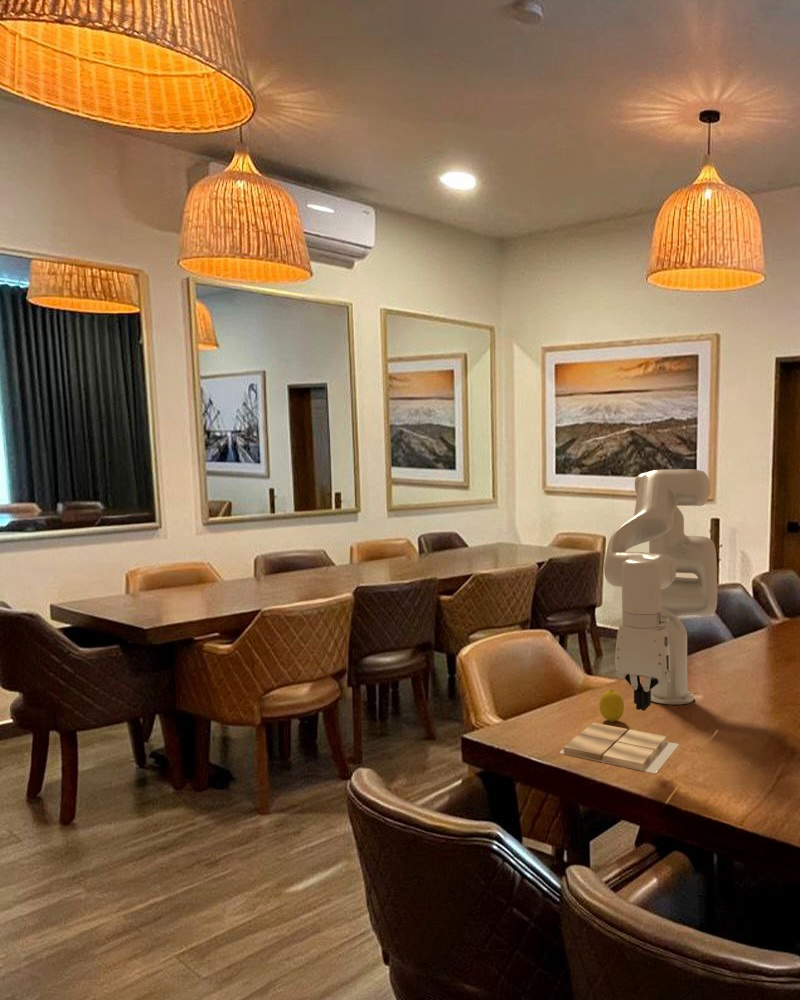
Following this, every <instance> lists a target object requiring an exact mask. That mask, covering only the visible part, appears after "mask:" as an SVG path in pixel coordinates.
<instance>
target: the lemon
mask: <svg viewBox="0 0 800 1000" xmlns="http://www.w3.org/2000/svg"><path fill="white" fill-rule="evenodd" d="M624 704H625V703H624V700H623V697H622V696H621V695H620V693H618V692H617V691H615V690H614V689H612V688H611V689H609V690H607V691H604V692H603V694H601V696H600V700H599V704H598V705H599V711H600V714H601V716H602V717H603V718H604V719H605V720H607V721H609V723H614V722H616V721H618V720H620V719H621V718H622V717H623V714H624V710H625V705H624Z"/></svg>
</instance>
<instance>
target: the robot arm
mask: <svg viewBox="0 0 800 1000" xmlns="http://www.w3.org/2000/svg"><path fill="white" fill-rule="evenodd" d="M709 479H710V478H709V476H708V475H707V473H706V472H705V471H703V470H699V469H691V468H690V469H689V468H686V469H685V468H681V469H679V468H678V469H674V468H673V469H655V470H654V469H653V470H649V471H646V472H642V473H640V474H638V475H637V476H636V477H635V480H634V490H635V493H636V501H635V507H634V513H633V516H632V517H631V518H629V519H627V520H626V521H625V522H624V523H622V524H621V525H620V526H619V527H618V528H616V530H615V531H614V532H613V533H612V535H611V536H610V537H609V540H608V543H607V549H606V552H605V559H604V566H603V567H604V568H603V573H604V577H605V580H606V582H607V583H608V584H609V585H611V586H612V587H617V588H621V610H622V611H621V617H622V618H621V623H620V624H619V625H618V630H617V636H616V644H615V656H614V657H615V659H614V661H615V662H614V663H615V673H614V674H615V676H616V677H618V678H621V679H623V680H625V681H626V682H627V683H628V684H629V685H630V686H631V689H632V690H633V703H634V704H635V705H636V708H635V709H636V710H638V711H639V710H641V711H643V712H645V711H646V710H647V709H648V708H649V707H650V706H651V704H652V702H653V703H656V704H657V703H658V704H662V705H685V704H690V703H692V702H693V701H694V698H695V697H694V696H695V695H694V694H693V693H692V692H691V691H689V690H688V633H687V629H686V627H685V625H684V624H683V622H682V621H681V620H680V618H679V617H678V616H683V615H684V616H697V617H701V616H702V617H708V616H711V615H713V614H714V613H716V610H717V608H718V607H717V606H718V567H717V566H718V562H717V551H716V545H715V543H714V541H713V540H712V539H711V538H710V537H707V536H702V535H685V517H684V514H683V513H682V511H681V510H680V508H679V506H680V507H684V506H686V507H687V506H688V507H691V506H692V507H696V506H697V507H701V506H705V504H707V501H708V500H709V497H710V493H711V485H710V483H711V482H710V480H709ZM644 543H648V544H649V545H648V547H649V548H648V549H649V550H648V552H644V551H643V552H641V551H640V552H638V551H637V552H636V551H629V549H631V548H633V547H635V546H637V545H641V544H644ZM677 574H692V575H695V576H696V577H681V576H677ZM641 677H644V679H643V680H644V681H643V685H642V679H641Z"/></svg>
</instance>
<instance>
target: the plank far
mask: <svg viewBox="0 0 800 1000" xmlns="http://www.w3.org/2000/svg"><path fill="white" fill-rule="evenodd" d="M617 742H618V743H623V744H628V745H634V746H639V747H644V748H649V749H654V750H655V755H656V753H657V752H658V751H659V750H660V749H661V748H662V746H663V745H664V744H665V743H666V742H668V741H667V735H662V734H655V733H651V732H645V731H641V730H640V731H639V730H635V729H628V732H627V733H626V734H625V735H623V736H622V737H621V738H620V739H619V740H618V741H617Z"/></svg>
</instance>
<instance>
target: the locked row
mask: <svg viewBox="0 0 800 1000" xmlns="http://www.w3.org/2000/svg"><path fill="white" fill-rule="evenodd" d="M628 731H629V729H628V728H624V727H618V726H613V725H609V724H603V723H598V722H592V723H591V724H589V725H588V726H587V727H585V729H583V730H582V731H581V732H579V733H578V734H577V735H576V736H574V737H573V739H571V740H570V741H569V742H567V743H566V744H565V745H564V746H563V749H564V753H568V754H573V755H577V756H582V757H587V758H591V759H596V760H600V761H601V760H602V759H603V755H604V754H605V753H606V752H607V751H608V750H609V749H610V748H611V747H612V746H613V745H614V744H615V743H616V742H617V741H618V740H619V739H620V738H621V737H622V736H623V735H625V734H626V733H627V732H628Z"/></svg>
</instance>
